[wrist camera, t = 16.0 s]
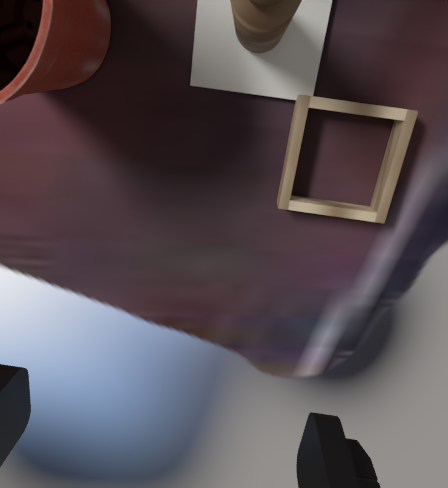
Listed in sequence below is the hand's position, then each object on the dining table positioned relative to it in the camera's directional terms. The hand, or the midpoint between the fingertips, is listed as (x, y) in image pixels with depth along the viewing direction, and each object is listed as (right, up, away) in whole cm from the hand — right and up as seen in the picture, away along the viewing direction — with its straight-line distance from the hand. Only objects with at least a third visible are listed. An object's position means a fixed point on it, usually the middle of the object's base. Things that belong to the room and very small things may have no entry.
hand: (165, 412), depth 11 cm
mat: (+5, +25, +24) cm, 35 cm away
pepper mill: (+5, +25, +24) cm, 35 cm away
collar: (+14, +14, +28) cm, 34 cm away
